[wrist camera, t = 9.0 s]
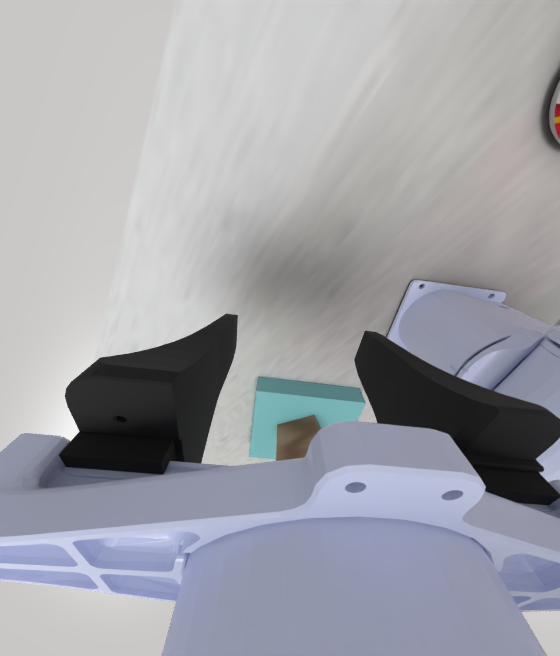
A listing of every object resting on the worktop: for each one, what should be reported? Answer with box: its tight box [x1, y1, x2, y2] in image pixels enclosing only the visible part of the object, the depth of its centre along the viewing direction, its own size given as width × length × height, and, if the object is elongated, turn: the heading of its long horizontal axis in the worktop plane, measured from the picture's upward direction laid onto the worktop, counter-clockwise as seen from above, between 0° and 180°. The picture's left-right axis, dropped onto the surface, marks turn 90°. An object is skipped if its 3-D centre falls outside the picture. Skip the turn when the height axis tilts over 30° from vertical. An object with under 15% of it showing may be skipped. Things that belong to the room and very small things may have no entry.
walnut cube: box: [276, 415, 321, 461], centre depth 27 cm, size 5×5×5 cm
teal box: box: [249, 377, 366, 459], centre depth 30 cm, size 13×13×3 cm
